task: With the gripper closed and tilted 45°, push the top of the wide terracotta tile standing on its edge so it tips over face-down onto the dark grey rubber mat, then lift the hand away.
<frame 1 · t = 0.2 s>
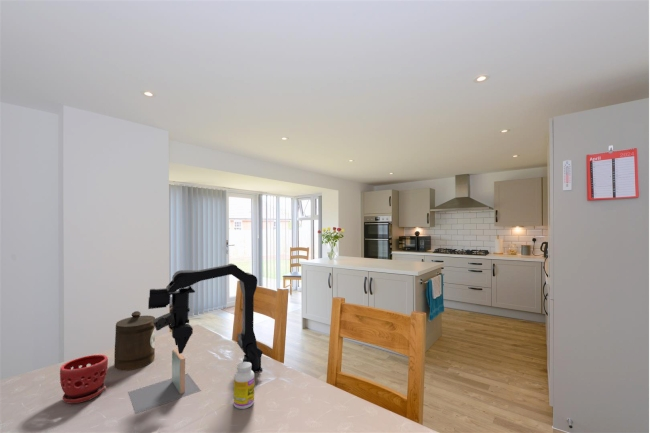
hand: (178, 349, 108), 15 cm above the table, tool pointing down, fingers open, 9 cm apart
mat: (164, 392, 106), on the table
wooden container: (135, 362, 129), on the table
tile: (178, 386, 109), point 1 cm above the table, touching mat
supplement bottle: (244, 404, 99), on the table
plant pot: (84, 396, 104), on the table
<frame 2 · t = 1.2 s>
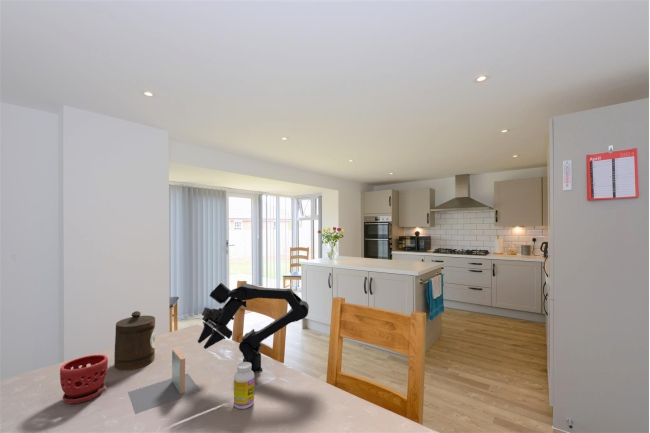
hand: (201, 345, 114), 13 cm above the table, tool tilted 45°, fingers open, 7 cm apart
nothing on the table moved.
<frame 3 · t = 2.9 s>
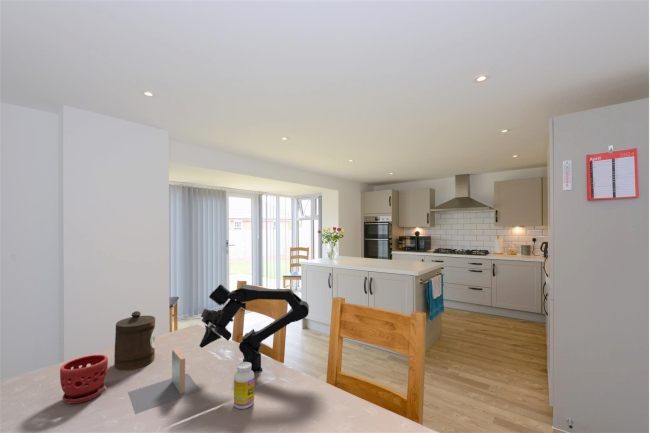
hand: (200, 347, 114), 13 cm above the table, tool tilted 45°, fingers closed
nothing on the table moved.
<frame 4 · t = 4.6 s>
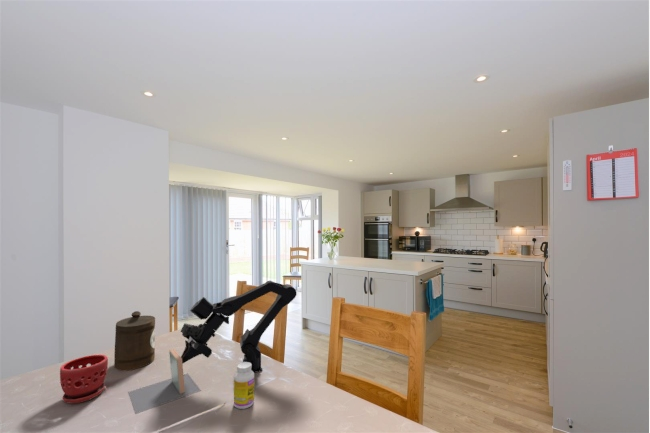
hand: (179, 363, 109), 9 cm above the table, tool tilted 45°, fingers closed, pressing on tile
tile: (178, 386, 109), point 1 cm above the table, touching gripper, mat
everything else where it was.
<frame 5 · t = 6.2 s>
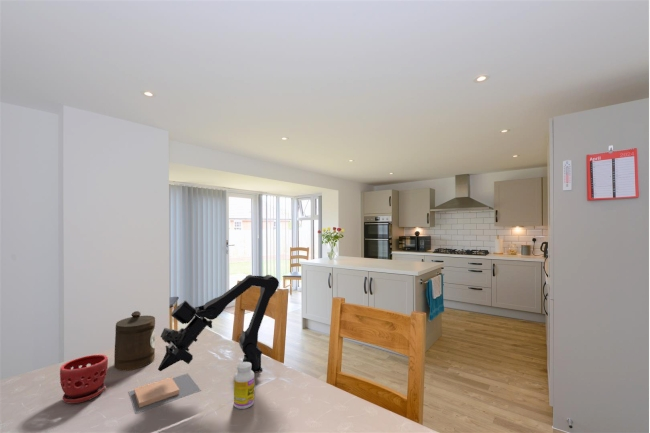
hand: (159, 370, 105), 9 cm above the table, tool tilted 45°, fingers closed
tile: (175, 385, 108), point 2 cm above the table, tilted 90°, touching mat
everything else where it was.
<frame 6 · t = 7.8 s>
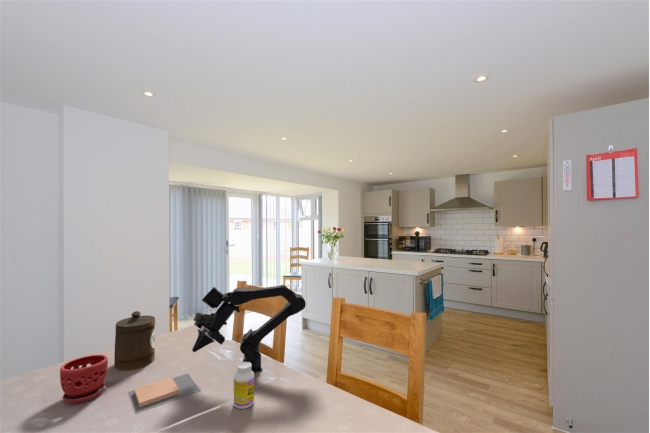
hand: (193, 351, 112), 12 cm above the table, tool tilted 45°, fingers closed
nothing on the table moved.
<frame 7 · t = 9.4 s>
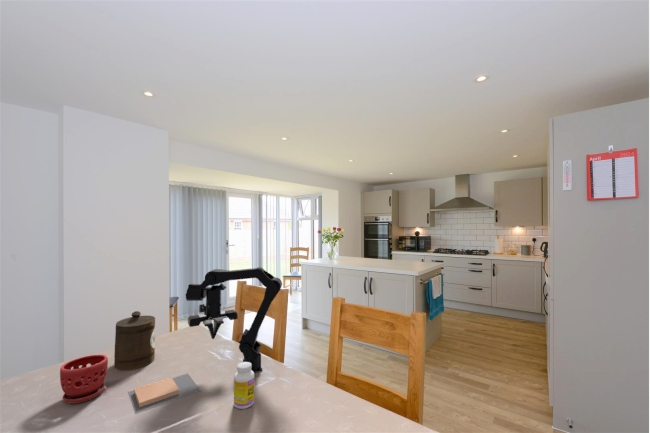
hand: (213, 338, 122), 13 cm above the table, tool pointing down, fingers closed
nothing on the table moved.
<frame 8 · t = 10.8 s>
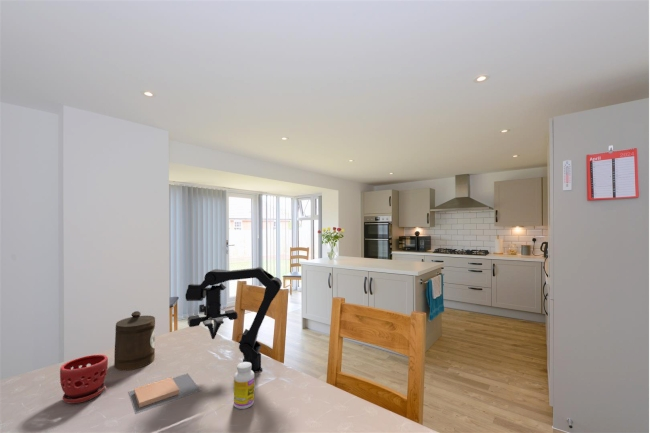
hand: (213, 338, 122), 13 cm above the table, tool pointing down, fingers closed
nothing on the table moved.
at the end: tile tilted 90°; tile inside the target area on the mat (3.9 cm from its centre), point 1.5 cm above the mat's base; tile touching mat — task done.
